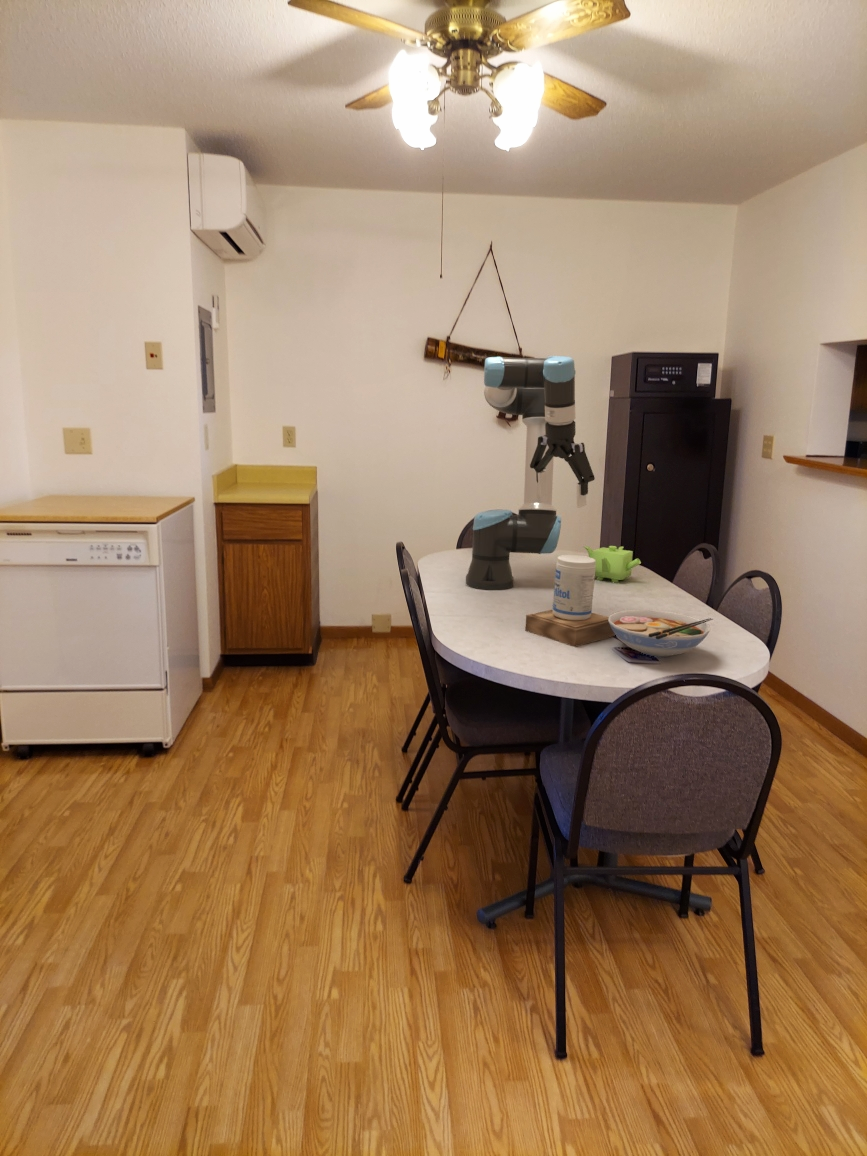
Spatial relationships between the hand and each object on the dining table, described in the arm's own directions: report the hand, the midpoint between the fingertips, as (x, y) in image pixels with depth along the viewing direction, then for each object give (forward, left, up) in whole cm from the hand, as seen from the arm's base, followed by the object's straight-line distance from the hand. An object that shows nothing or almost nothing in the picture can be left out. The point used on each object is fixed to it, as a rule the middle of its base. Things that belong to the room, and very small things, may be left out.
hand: (561, 500), depth 203 cm
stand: (+14, -10, -31) cm, 36 cm away
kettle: (-20, +50, -31) cm, 62 cm away
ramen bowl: (+36, -6, -31) cm, 48 cm away
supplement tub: (+15, -10, -27) cm, 32 cm away
